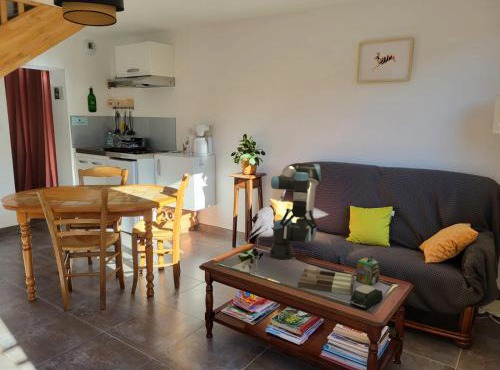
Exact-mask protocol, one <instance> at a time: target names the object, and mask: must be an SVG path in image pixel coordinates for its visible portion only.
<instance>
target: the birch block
mask: <svg viewBox="0 0 500 370" xmlns="http://www.w3.org/2000/svg"><path fill="white" fill-rule="evenodd" d="M306 269H307V277H311V278H316V276H317V270H318V267H317V266H311V265H308V267H307V268H306Z"/></svg>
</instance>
